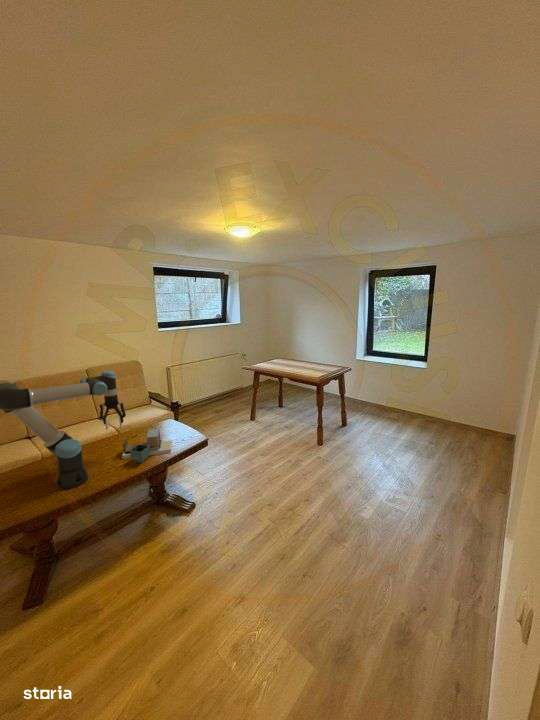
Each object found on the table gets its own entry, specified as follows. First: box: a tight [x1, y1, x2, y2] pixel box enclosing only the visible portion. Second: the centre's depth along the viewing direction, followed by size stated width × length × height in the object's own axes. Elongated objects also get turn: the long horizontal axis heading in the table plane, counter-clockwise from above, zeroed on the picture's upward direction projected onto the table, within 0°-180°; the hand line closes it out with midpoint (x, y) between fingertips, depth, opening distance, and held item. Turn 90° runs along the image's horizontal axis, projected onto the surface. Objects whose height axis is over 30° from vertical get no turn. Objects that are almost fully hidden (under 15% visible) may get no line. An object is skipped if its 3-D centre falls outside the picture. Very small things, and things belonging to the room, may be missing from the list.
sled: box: [122, 438, 162, 453], centre depth 199 cm, size 23×8×6 cm, turn 106°
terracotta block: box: [149, 435, 159, 447], centre depth 201 cm, size 6×6×6 cm
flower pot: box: [130, 443, 150, 464], centre depth 187 cm, size 9×9×9 cm
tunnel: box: [146, 428, 161, 451], centre depth 201 cm, size 7×12×10 cm, turn 16°
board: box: [121, 439, 173, 460], centre depth 201 cm, size 30×14×3 cm, turn 106°
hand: (114, 428), depth 192 cm, fingers open, 8 cm apart
